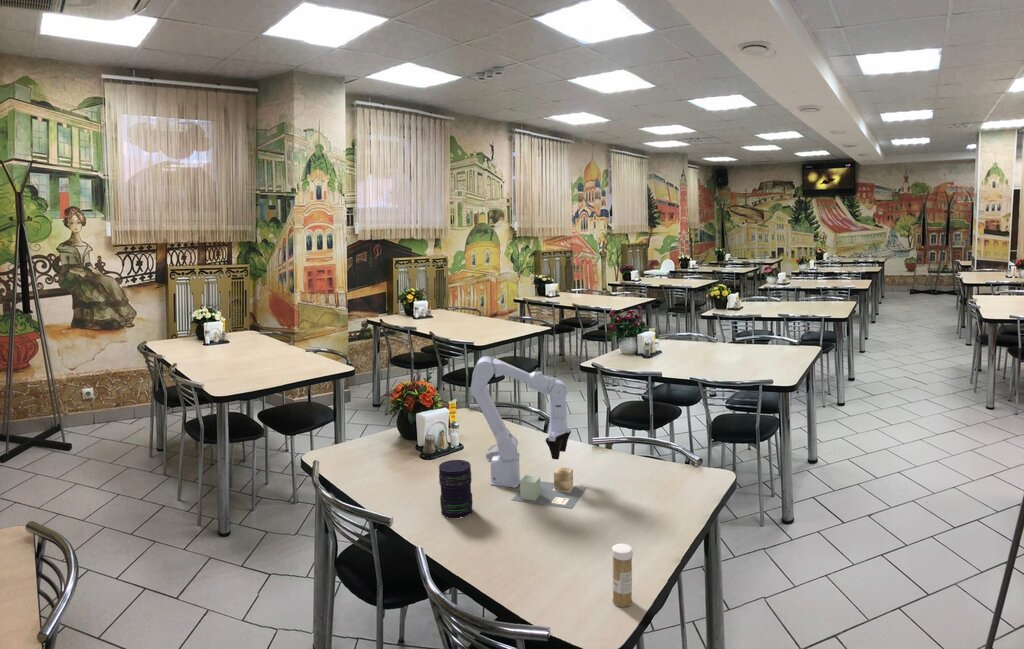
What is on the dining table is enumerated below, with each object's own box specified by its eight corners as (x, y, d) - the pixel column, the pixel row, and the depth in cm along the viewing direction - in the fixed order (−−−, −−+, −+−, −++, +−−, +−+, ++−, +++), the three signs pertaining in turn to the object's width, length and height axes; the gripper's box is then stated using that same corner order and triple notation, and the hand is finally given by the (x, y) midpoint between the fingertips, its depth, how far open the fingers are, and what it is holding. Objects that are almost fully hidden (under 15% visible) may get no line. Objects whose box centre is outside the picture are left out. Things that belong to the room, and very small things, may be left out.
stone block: (485, 466, 239) (511, 461, 238) (483, 454, 239) (508, 449, 237) (492, 456, 251) (516, 451, 249) (489, 444, 251) (513, 440, 249)
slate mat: (511, 500, 204) (511, 499, 204) (529, 480, 220) (529, 479, 220) (571, 508, 197) (571, 508, 197) (586, 487, 213) (586, 486, 212)
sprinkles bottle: (609, 598, 149) (609, 544, 147) (628, 595, 150) (628, 541, 148) (616, 609, 145) (616, 553, 143) (635, 606, 146) (635, 551, 143)
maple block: (554, 489, 211) (553, 472, 210) (558, 484, 216) (558, 467, 215) (568, 491, 209) (568, 474, 208) (573, 485, 214) (572, 468, 213)
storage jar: (447, 521, 191) (445, 474, 188) (436, 509, 199) (433, 463, 197) (478, 514, 195) (476, 467, 193) (465, 502, 204) (463, 457, 202)
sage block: (520, 498, 205) (520, 481, 204) (526, 492, 209) (525, 475, 208) (535, 500, 203) (534, 482, 202) (540, 494, 207) (540, 477, 207)
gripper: (563, 423, 206) (563, 463, 208) (575, 411, 220) (576, 449, 222) (542, 421, 209) (543, 461, 211) (556, 409, 222) (556, 447, 224)
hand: (558, 455), depth 217 cm, fingers open, 7 cm apart
